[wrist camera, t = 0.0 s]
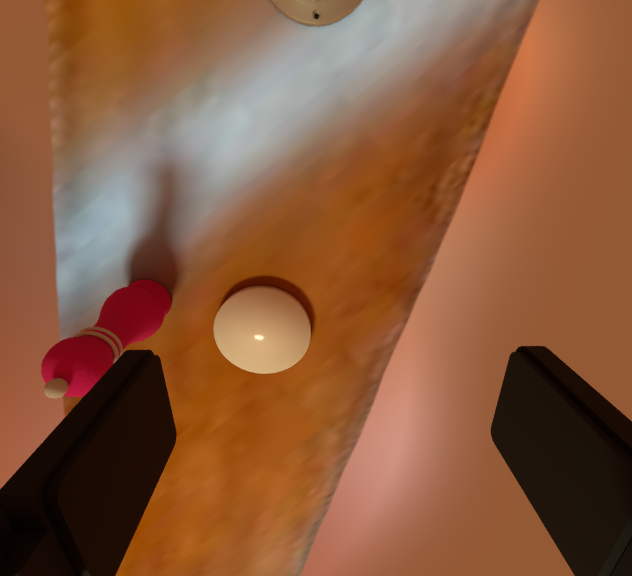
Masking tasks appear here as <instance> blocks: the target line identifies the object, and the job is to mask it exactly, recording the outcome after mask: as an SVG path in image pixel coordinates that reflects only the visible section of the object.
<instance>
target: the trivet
mask: <svg viewBox="0 0 632 576" xmlns="http://www.w3.org/2000/svg"><path fill="white" fill-rule="evenodd" d="M214 337H215V341H216V343H217V346H218V348H219V349H220V351H221V352H222V354H223V355H224V356H225V357H226V358H227V359H228V360H229V361H230V362H231V363H233V364H234V365H236V366H238V367H240V368H241V369H244V370H247V371H250V372H254V373H264V374H267V373H275V372H280V371H283V370H285V369H288V368H289V367H291V366H293V365H294V364H296V363H297V362H298V361H299V360H300V359H301V358H302V357H303V355H304V354H305V352H306V351H307V349H308V346H309V343H310V337H311V325H310V320H309V316H308V314H307V312H306V310H305V308H304V307H303V305H302V304H301V303H300V302H299V301H298V300H297V299H296V298H295V297H294V296H292V295H291V294H290V293H288V292H286V291H284V290H282V289H279V288H276V287H272V286H264V285H258V286H250V287H246V288H243V289H241V290H239V291H237V292H235V293H233V294H232V295H231V296H230V297H228V298H227V299H226V300H225V302H224V303H223V304H222V306H221V308H220V309H219V311H218V313H217V315H216V318H215V322H214Z"/></svg>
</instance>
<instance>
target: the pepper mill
mask: <svg viewBox="0 0 632 576" xmlns="http://www.w3.org/2000/svg"><path fill="white" fill-rule="evenodd" d="M170 307H171V299H170V295H169V294H168V292H167V290H166V289H165V288H164V287H163V286H162V285H160V284H159V283H157V282H155V281H152V280H147V279H142V280H137V281H135V282H133V283H132V284H131V285H129V286H128V287H124V288H121V289H119V290H117V291H115V292H114V293H113V294H112V295H111V296H109V297H108V298H107V300H106V301H105V303H104V305H103V307H102V309H101V312H100V316H99V319H98V321H97V323H96V324H95V325H94V326H93V327H88V328H85V329H83V330H81V331H80V332H79V333H78V334H76V335H75V336H74V337H71V338H68V339H64V340H62V341H60V342H59V343H57V344H55V345H54V346H53V347H52V348H51V349H50V350H49V351H48V353H47V354H46V355H45V357H44V359H43V362H42V365H41V373H42V377H43V379H44V381H45V383H46V385H45V387H44V393H45V395H46V396H47V397H50V398H59V397H61V396H63V395H64V396H68V397H81V396H85V395H86V394H87V393H88V392H89V391H90V389H91V388H92V387H93V386H94V385H95V384H96V383H97V382H98V381H99V379H100V378H101V377H102V376H103V375H104V374H105V373H106V372H107V371H108V369H109V368H110V367H111V366H112V365H113V364H114V363H115V362H116V361H117V359H118V358H119V357H120V356H121V355H122V354H123V349H124V348H125V347H127V346H128V345H129V344H131V343H135V342H138V341H142V340H144V339H146V338H148V337H150V336H152V335H153V334H154V333H155V332H156V331H157V330H158V329H159V328H160V327H161V325H162V323H163V319H164V316H165V315H166V314H167V313H168V311H169V310H170Z"/></svg>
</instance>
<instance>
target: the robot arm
mask: <svg viewBox="0 0 632 576" xmlns="http://www.w3.org/2000/svg"><path fill="white" fill-rule="evenodd" d="M270 1H271V2H272V3H273V5H274V6H275V7H276V8H277V9H278V10H279V11H280V12H281V13H282V14H284V15H285V16H286V17H287V18H289V19H291V20H293V21H295V22H297V23H300V24H303V25H306V26H318V27H320V26H325V25H331V24H333V23H335V22H338V21H340V20H342V19H343V18H345V17H346V16H348V15H349V14H351V13H352V12H353V11H354V10H355V9H356V8H357V7H358V5H359V4H360V3H361V2H362V0H270ZM316 14H317V15H318V16H319V18H318V19H315V18H314V16H315V15H316ZM491 436H492V439H493V442H494V444H495V445H496V447H497V449H498V450H499V452H500V453H501V455H502V457H503V458H504V460H505V462H506V463H507V465H508V467H509V468H510V470H511V472H512V473H513V475H514V476H515V478H516V479H517V481H518V483H519V485H520V486H521V488H522V489H523V491H524V493H525V494H526V496H527V498H528V499H529V501H530V503H531V504H532V506H533V508H534V509H535V511H536V512H537V514H538V516H539V517H540V519H541V521H542V523H543V524H544V526H545V527H546V529H547V531H548V532H549V534H550V536H551V537H552V539H553V541H554V542H555V544H556V545H557V547H558V549H559V550H560V552H561V554H562V555H563V557H564V559H565V560H566V562H567V564H568V565H569V567H570V569H571V570H572V572H573V573H574V575H575V576H632V422H631V420H629V419H628V418H627V417H626V416H625V415H623V414H622V413H621V412H620V411H619V410H617V408H616V407H614V406H613V405H612V404H611V403H610V402H608V400H606V399H605V398H604V397H603V396H602V395H600V394H599V393H598V392H597V391H596V390H595V389H593V388H592V387H591V386H590V385H589V384H588V383H587V382H586V381H584V380H583V379H582V378H581V377H580V376H579V375H578V374H576V373H575V372H574V371H573V370H572V369H571V368H570V367H568V366H567V365H566V364H565V363H564V362H563V361H561V360H560V359H559V358H558V357H557V356H556V355H554V354H553V353H552V352H551V351H550V350H549V349H547V348H546V347H544V346H521V347H518V349H517V350H516V352H513V353H511V355H510V357H509V361H508V365H507V369H506V372H505V376H504V380H503V384H502V388H501V391H500V396H499V399H498V403H497V407H496V411H495V415H494V418H493V422H492V426H491ZM175 442H176V428H175V424H174V419H173V415H172V410H171V406H170V401H169V396H168V392H167V387H166V383H165V378H164V374H163V369H162V365H161V360H160V358H159V356H157V355H154V354H153V352H152V351H151V350H127V351H125V352H124V353H123V354H122V355H121V356H120V357H119V358H118V359H117V361H116V362H115V363H114V364H113V365H112V366H111V367H110V368H109V369H108V371H107V372H106V373H105V374H104V375H103V376H102V377H101V378H100V379H99V381H98V382H97V383H96V384H95V385H94V386H93V387H92V388H91V389H90V391H89V392H88V393H87V394H86V395H85V396H84V397H83V398H82V399H81V400H80V402H79V403H78V404H77V405H76V406H75V407H74V408H73V409H72V410H71V412H70V413H69V414H68V415H67V416H66V417H65V418H64V419H63V420H62V422H61V423H60V424H59V425H58V426H57V427H56V428H55V429H54V430H53V432H52V433H51V434H50V435H49V436H48V437H47V438H46V439H45V440H44V442H43V443H42V444H41V445H40V446H39V447H38V448H37V449H36V450H35V452H34V453H33V454H32V455H31V456H30V457H29V458H28V459H27V460H26V462H25V463H24V464H23V465H22V466H21V467H20V468H19V469H18V471H16V473H15V474H14V475H13V476H12V477H11V478H10V479H9V481H7V483H6V484H5V485H4V486H3V487H2V488H1V489H0V576H115V575H116V573H117V571H118V568H119V566H120V564H121V562H122V560H123V558H124V555H125V553H126V551H127V549H128V547H129V544H130V542H131V540H132V538H133V536H134V533H135V531H136V529H137V527H138V525H139V522H140V520H141V518H142V516H143V514H144V511H145V509H146V507H147V505H148V503H149V500H150V498H151V496H152V494H153V492H154V489H155V487H156V485H157V483H158V481H159V478H160V476H161V474H162V472H163V470H164V468H165V465H166V463H167V461H168V459H169V457H170V454H171V452H172V450H173V448H174V445H175Z"/></svg>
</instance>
